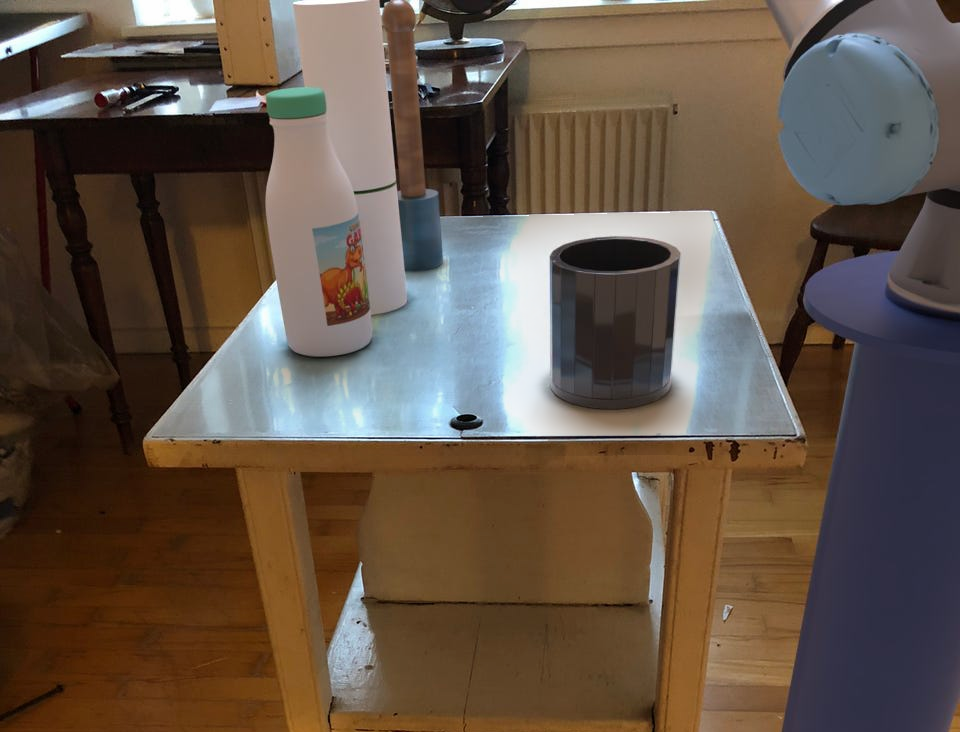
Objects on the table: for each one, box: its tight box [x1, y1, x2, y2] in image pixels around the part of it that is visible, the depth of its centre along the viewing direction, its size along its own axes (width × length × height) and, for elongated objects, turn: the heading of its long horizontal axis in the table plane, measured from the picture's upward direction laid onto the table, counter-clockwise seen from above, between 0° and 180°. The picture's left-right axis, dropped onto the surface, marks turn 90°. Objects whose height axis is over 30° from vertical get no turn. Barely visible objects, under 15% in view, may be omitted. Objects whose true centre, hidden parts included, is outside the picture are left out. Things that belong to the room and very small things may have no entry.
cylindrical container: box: [292, 0, 408, 316], centre depth 88 cm, size 7×7×25 cm
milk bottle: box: [265, 86, 374, 358], centre depth 81 cm, size 8×8×20 cm
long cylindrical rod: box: [381, 0, 444, 272], centre depth 98 cm, size 5×5×24 cm
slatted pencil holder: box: [549, 235, 681, 410], centre depth 74 cm, size 9×9×10 cm
